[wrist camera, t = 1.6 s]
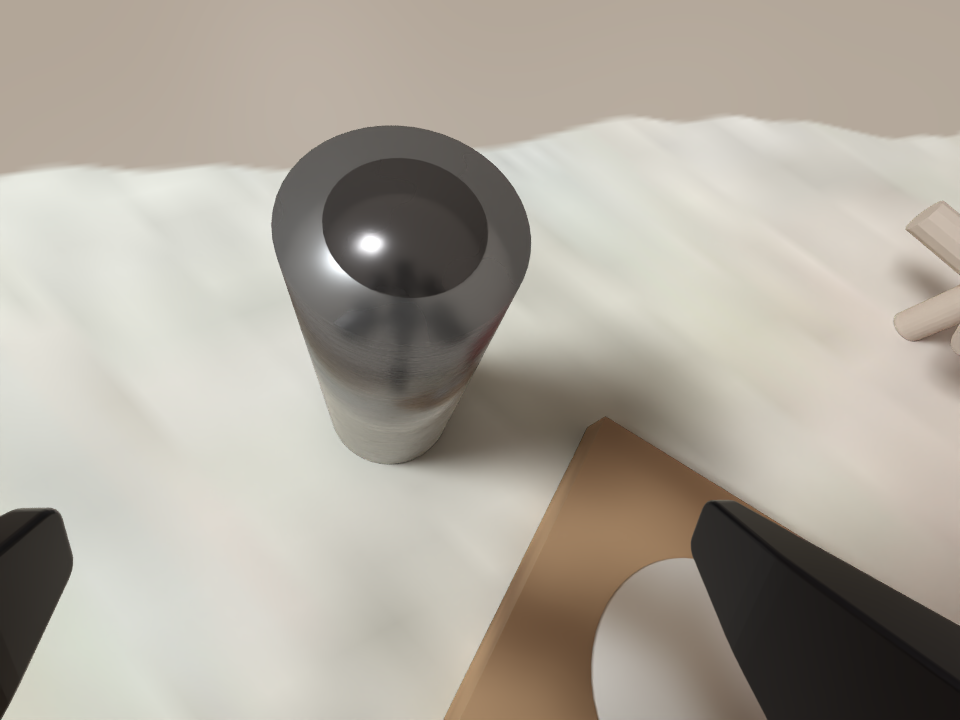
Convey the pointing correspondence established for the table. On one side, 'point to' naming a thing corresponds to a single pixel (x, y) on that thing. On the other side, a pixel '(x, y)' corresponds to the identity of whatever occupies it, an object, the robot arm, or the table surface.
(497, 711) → the mounting plate
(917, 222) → the pipe connector
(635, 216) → the table surface
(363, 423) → the steel hub
